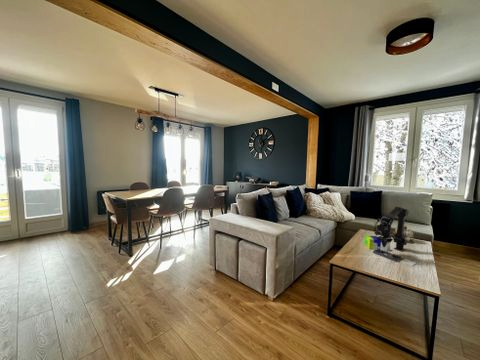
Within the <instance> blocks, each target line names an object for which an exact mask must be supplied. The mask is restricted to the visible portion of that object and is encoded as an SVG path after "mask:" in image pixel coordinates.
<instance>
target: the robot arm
mask: <svg viewBox="0 0 480 360" xmlns="http://www.w3.org/2000/svg"><path fill="white" fill-rule="evenodd" d="M409 213H410V211H409V210H408V209H406V208H403V207H401V206H394V208H393V209H392V210H391V211H390V212H389V213H385V214H384V215H383V216H382V217H381V219H380V221H379V224H378V225H377V226H376V228H377V229H376V230H375V231H374V235H375V236H377V240H380V241H381V242H382V246H383V247H385V246H386V244H387V242H388V241H389V242H390V244H391V242H394V243H396V244H395V247H394V248H393V250H397V251H400V252H404V251H406V249H405V246H407V245H408V243H407V241H406V239H405V235H404V234H403V232H404V225H405V221H406V218H407V217H408V216H409ZM396 216H397V220H398V221H397V225H396V227H397V233H396V234H394V233H393V231H392V225H393V223H394V221H395V219H394V218H396ZM392 233H393V234H392Z"/></svg>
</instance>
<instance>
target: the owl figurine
mask: <svg viewBox="0 0 480 360" xmlns="http://www.w3.org/2000/svg"><path fill="white" fill-rule="evenodd" d="M394 230H395V231H392V233H393V235H394V234H396V233H397V226H396V227H395V229H394ZM403 234H404V235H405V239H406V241H407V244H415V241H414V240H415V237H414V231H412V230H411V229H410V228H408V227H407V225H406V224H404V232H403Z"/></svg>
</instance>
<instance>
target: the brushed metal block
mask: <svg viewBox="0 0 480 360" xmlns="http://www.w3.org/2000/svg"><path fill="white" fill-rule="evenodd" d="M380 250H383V251H386V252H389V251H391V243H390V242H389V241H388V242H387V244H386V246H385V247H383V246H382V242H381V249H380Z"/></svg>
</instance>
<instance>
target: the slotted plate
mask: <svg viewBox="0 0 480 360" xmlns="http://www.w3.org/2000/svg"><path fill="white" fill-rule="evenodd" d="M372 252H373V254H375V255H378V256H380V257H382V258H385V259H387V260H390V261H392V262H395V263H397V262H400V261H401V260H403V257H402V256H401V255H398V254H394V253H392V252H389V251H388V252H386V251H383V250H380V249H377V250H373V251H372Z"/></svg>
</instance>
